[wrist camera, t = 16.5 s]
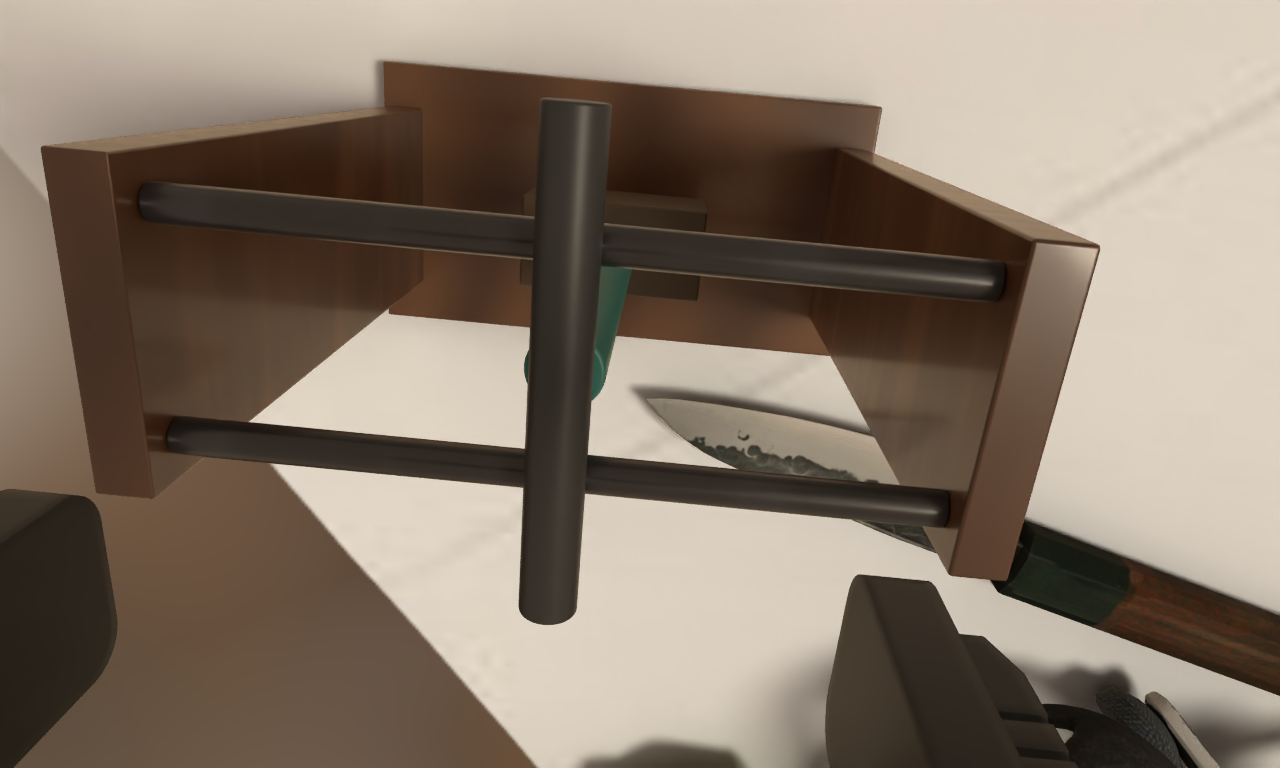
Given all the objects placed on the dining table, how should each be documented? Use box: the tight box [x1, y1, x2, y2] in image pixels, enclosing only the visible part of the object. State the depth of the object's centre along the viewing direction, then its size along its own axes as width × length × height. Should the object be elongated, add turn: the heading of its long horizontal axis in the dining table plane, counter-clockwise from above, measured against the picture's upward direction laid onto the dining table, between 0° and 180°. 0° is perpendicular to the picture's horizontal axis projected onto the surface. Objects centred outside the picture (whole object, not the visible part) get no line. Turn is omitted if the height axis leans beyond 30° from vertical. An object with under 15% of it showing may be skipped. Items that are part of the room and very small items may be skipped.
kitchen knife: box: [646, 398, 1280, 696], centre depth 37 cm, size 36×2×5 cm
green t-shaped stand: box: [519, 97, 707, 625], centre depth 23 cm, size 6×10×16 cm, turn 175°
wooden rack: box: [41, 61, 1100, 581], centre depth 25 cm, size 19×10×20 cm, turn 85°
